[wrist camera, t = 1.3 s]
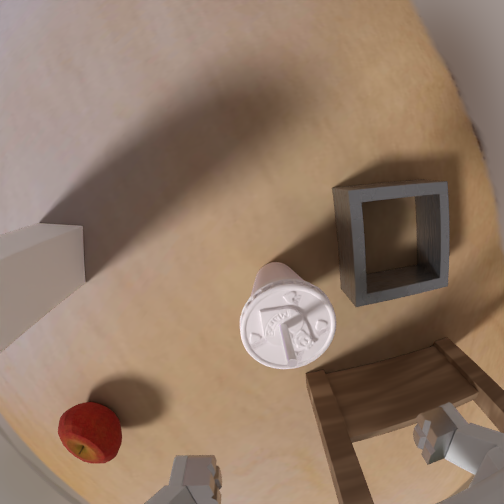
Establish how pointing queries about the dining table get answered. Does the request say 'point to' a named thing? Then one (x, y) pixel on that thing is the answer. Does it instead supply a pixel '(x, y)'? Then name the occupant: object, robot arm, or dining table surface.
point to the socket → (428, 241)
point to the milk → (37, 274)
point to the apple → (91, 432)
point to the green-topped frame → (392, 404)
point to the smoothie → (286, 319)
